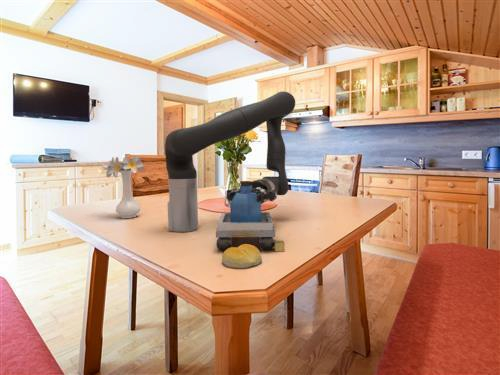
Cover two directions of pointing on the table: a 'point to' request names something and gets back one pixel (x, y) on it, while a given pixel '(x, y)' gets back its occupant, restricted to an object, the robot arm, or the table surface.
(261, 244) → the trolley
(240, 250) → the bread roll
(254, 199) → the perfume bottle
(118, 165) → the flower vase
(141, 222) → the table surface
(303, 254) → the table surface
